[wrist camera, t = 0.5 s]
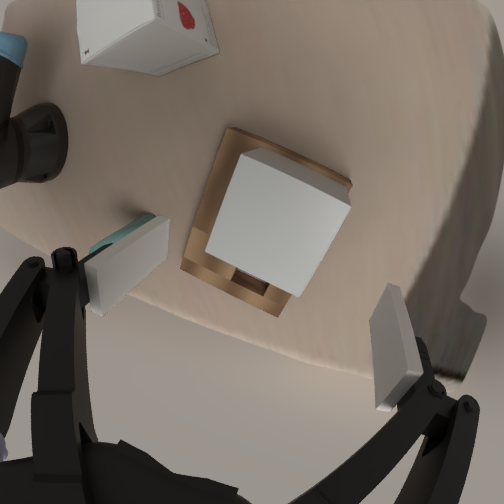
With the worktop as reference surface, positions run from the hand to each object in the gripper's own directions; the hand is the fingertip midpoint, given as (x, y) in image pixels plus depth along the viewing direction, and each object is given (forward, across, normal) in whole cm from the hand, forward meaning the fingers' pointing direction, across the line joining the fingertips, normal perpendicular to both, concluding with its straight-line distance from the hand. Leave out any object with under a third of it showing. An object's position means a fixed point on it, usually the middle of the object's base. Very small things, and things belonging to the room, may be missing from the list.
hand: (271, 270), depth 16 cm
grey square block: (+17, -2, -2) cm, 17 cm away
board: (+20, -4, -6) cm, 21 cm away
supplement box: (+20, -19, +17) cm, 33 cm away
